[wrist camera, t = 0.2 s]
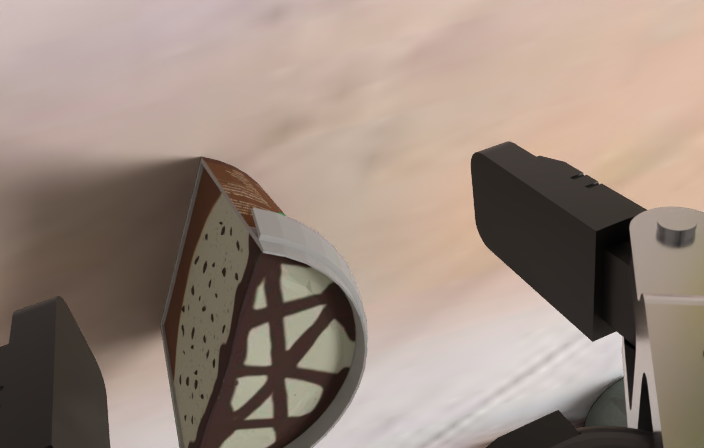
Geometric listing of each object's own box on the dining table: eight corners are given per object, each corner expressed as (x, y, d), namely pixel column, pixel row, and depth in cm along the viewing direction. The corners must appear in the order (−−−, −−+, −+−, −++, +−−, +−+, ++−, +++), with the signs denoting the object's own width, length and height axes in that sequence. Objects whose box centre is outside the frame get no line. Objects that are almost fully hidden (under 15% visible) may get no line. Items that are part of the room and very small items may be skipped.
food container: (266, 351, 36) (326, 496, 28) (154, 348, 33) (185, 509, 25) (332, 148, 32) (426, 253, 24) (208, 126, 29) (267, 236, 21)
